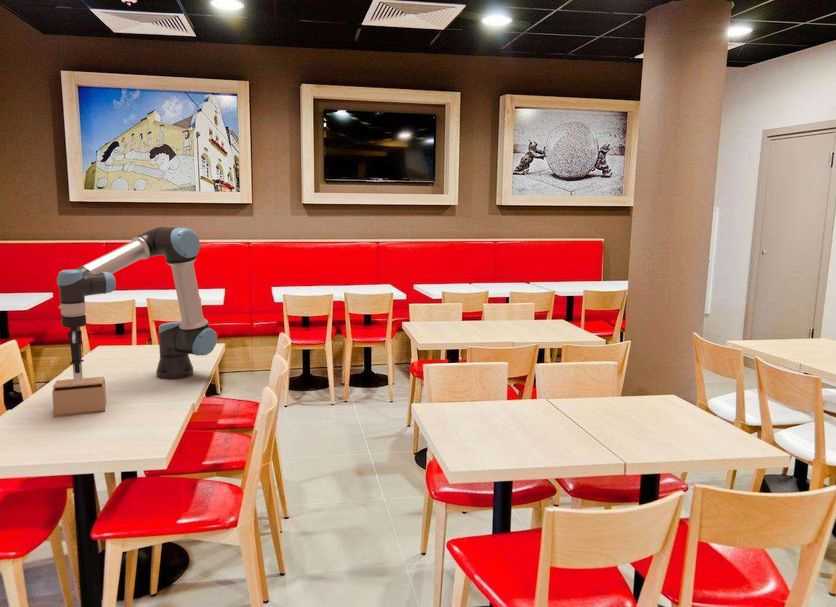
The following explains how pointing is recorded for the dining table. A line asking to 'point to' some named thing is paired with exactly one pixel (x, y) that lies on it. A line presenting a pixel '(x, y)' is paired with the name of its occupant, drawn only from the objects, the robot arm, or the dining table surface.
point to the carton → (79, 399)
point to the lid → (71, 382)
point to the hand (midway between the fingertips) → (78, 381)
